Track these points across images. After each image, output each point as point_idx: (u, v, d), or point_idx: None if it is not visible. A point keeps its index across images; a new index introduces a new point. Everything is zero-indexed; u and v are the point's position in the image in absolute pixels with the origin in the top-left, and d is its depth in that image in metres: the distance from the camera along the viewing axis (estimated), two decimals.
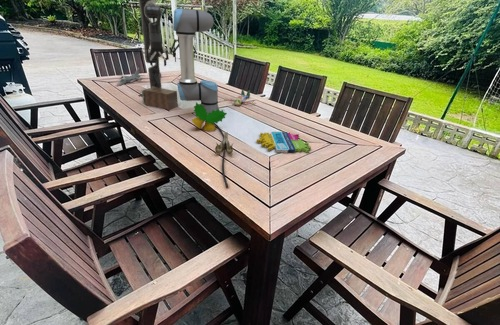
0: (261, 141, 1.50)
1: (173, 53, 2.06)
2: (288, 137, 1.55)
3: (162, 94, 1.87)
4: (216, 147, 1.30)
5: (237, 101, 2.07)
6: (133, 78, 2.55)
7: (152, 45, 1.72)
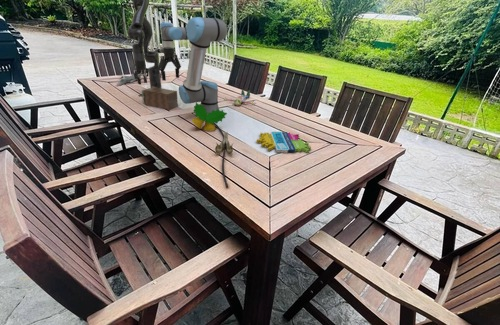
0: (261, 141, 1.50)
1: (162, 71, 1.82)
2: (288, 137, 1.55)
3: (162, 94, 1.87)
4: (216, 147, 1.30)
5: (237, 101, 2.07)
6: (133, 78, 2.55)
7: (140, 64, 1.86)
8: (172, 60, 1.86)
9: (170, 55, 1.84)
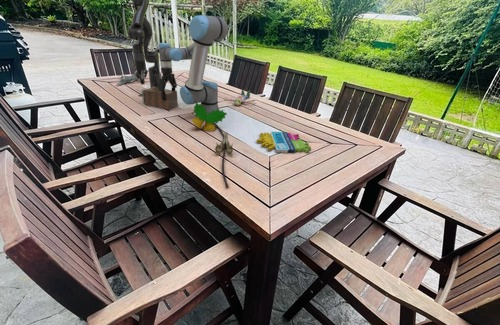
0: (261, 141, 1.50)
1: (163, 92, 1.84)
2: (288, 137, 1.55)
3: None
4: (216, 147, 1.30)
5: (237, 101, 2.07)
6: (133, 78, 2.55)
7: (140, 64, 1.86)
8: (170, 79, 1.87)
9: (168, 74, 1.85)
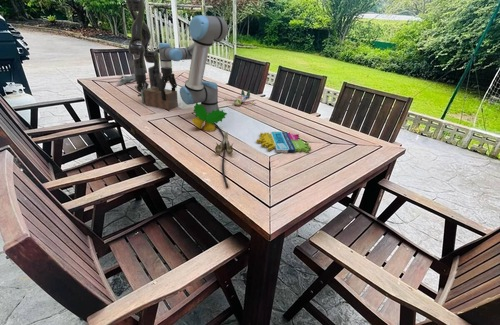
0: (261, 141, 1.50)
1: (163, 92, 1.84)
2: (288, 137, 1.55)
3: None
4: (216, 147, 1.30)
5: (237, 101, 2.07)
6: (133, 78, 2.55)
7: (140, 78, 1.91)
8: (170, 79, 1.88)
9: (168, 74, 1.85)
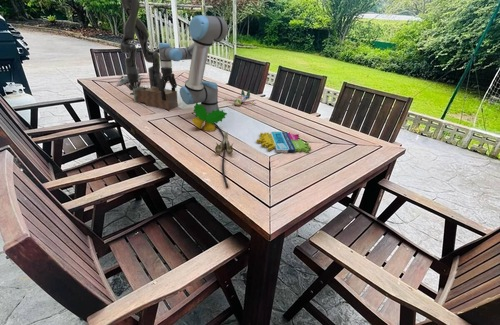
0: (261, 141, 1.50)
1: (163, 92, 1.84)
2: (288, 137, 1.55)
3: None
4: (216, 147, 1.30)
5: (237, 101, 2.07)
6: None
7: (132, 77, 1.93)
8: (170, 79, 1.88)
9: (168, 74, 1.85)
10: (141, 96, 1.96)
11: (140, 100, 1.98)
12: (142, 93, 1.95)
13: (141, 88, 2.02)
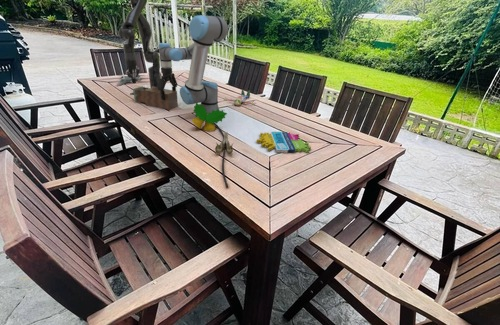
0: (261, 141, 1.50)
1: (162, 91, 1.83)
2: (288, 137, 1.55)
3: None
4: (216, 147, 1.30)
5: (237, 101, 2.07)
6: None
7: (131, 64, 1.89)
8: (170, 79, 1.88)
9: (168, 74, 1.85)
10: (141, 96, 1.96)
11: (140, 100, 1.98)
12: (142, 93, 1.95)
13: (141, 88, 2.02)
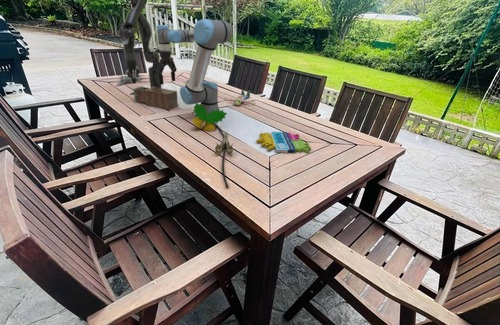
0: (261, 141, 1.50)
1: (160, 75, 1.78)
2: (288, 137, 1.55)
3: (162, 94, 1.87)
4: (216, 147, 1.30)
5: (237, 101, 2.07)
6: None
7: (131, 64, 1.89)
8: (169, 63, 1.82)
9: (167, 58, 1.79)
10: (141, 96, 1.96)
11: (140, 100, 1.98)
12: (142, 93, 1.95)
13: (141, 88, 2.02)
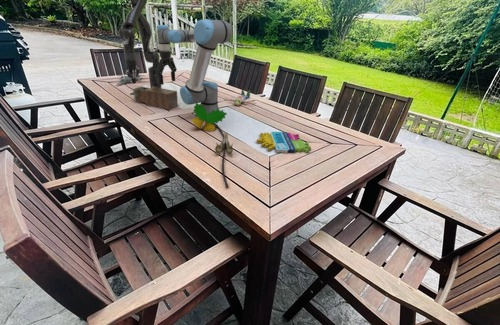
0: (261, 141, 1.50)
1: (160, 75, 1.78)
2: (288, 137, 1.55)
3: (162, 94, 1.87)
4: (216, 147, 1.30)
5: (237, 101, 2.07)
6: None
7: (131, 64, 1.89)
8: (169, 63, 1.82)
9: (167, 58, 1.79)
10: (141, 96, 1.96)
11: (140, 100, 1.98)
12: (142, 93, 1.95)
13: (141, 88, 2.02)
